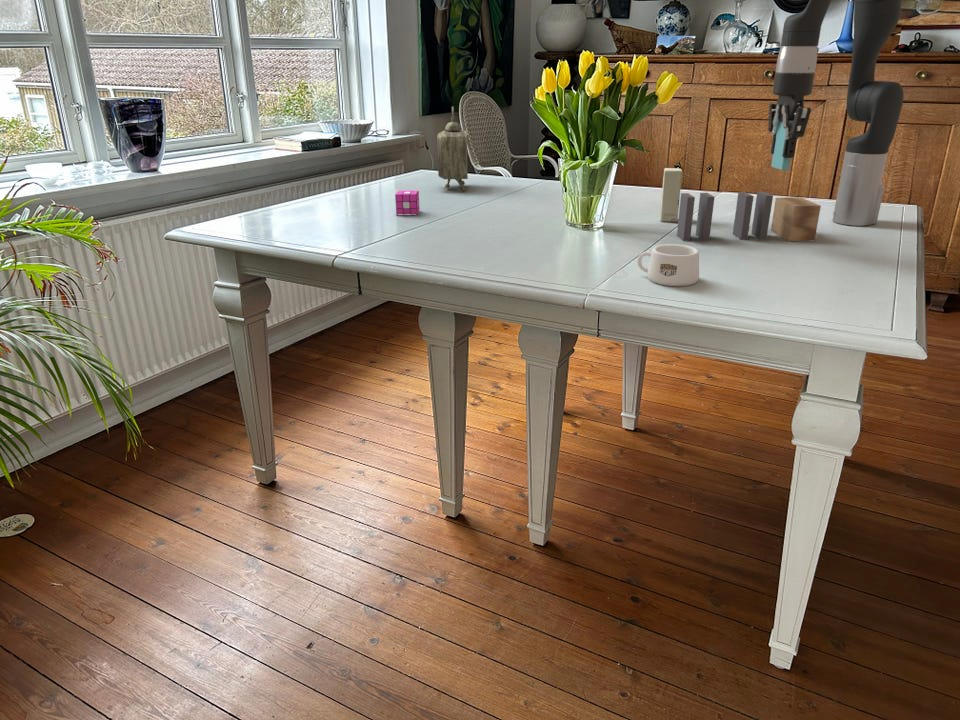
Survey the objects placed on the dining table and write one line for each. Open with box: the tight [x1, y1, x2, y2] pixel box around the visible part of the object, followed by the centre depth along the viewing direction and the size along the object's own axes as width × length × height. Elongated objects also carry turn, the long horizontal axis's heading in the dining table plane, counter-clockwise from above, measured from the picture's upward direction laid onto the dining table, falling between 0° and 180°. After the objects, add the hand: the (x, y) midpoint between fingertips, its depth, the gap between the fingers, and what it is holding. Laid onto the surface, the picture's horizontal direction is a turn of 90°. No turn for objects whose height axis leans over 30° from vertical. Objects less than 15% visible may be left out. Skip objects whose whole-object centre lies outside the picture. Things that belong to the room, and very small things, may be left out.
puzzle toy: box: [394, 190, 421, 215], centre depth 195 cm, size 6×6×6 cm
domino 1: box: [676, 192, 696, 242], centre depth 165 cm, size 2×5×10 cm, turn 3°
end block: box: [770, 196, 822, 242], centre depth 167 cm, size 6×10×8 cm, turn 3°
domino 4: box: [750, 191, 774, 240], centre depth 166 cm, size 2×5×10 cm, turn 3°
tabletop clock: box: [436, 106, 469, 192], centre depth 223 cm, size 14×9×25 cm, turn 1°
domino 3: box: [732, 191, 755, 240], centre depth 166 cm, size 2×5×10 cm, turn 3°
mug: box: [637, 243, 700, 287], centre depth 137 cm, size 12×10×6 cm
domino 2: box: [695, 192, 715, 241], centre depth 165 cm, size 2×5×10 cm, turn 3°
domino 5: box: [770, 120, 793, 171], centre depth 152 cm, size 2×5×10 cm, turn 4°
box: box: [659, 167, 683, 223], centre depth 182 cm, size 5×4×13 cm
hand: (781, 155), depth 153 cm, fingers closed on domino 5, 5 cm apart
